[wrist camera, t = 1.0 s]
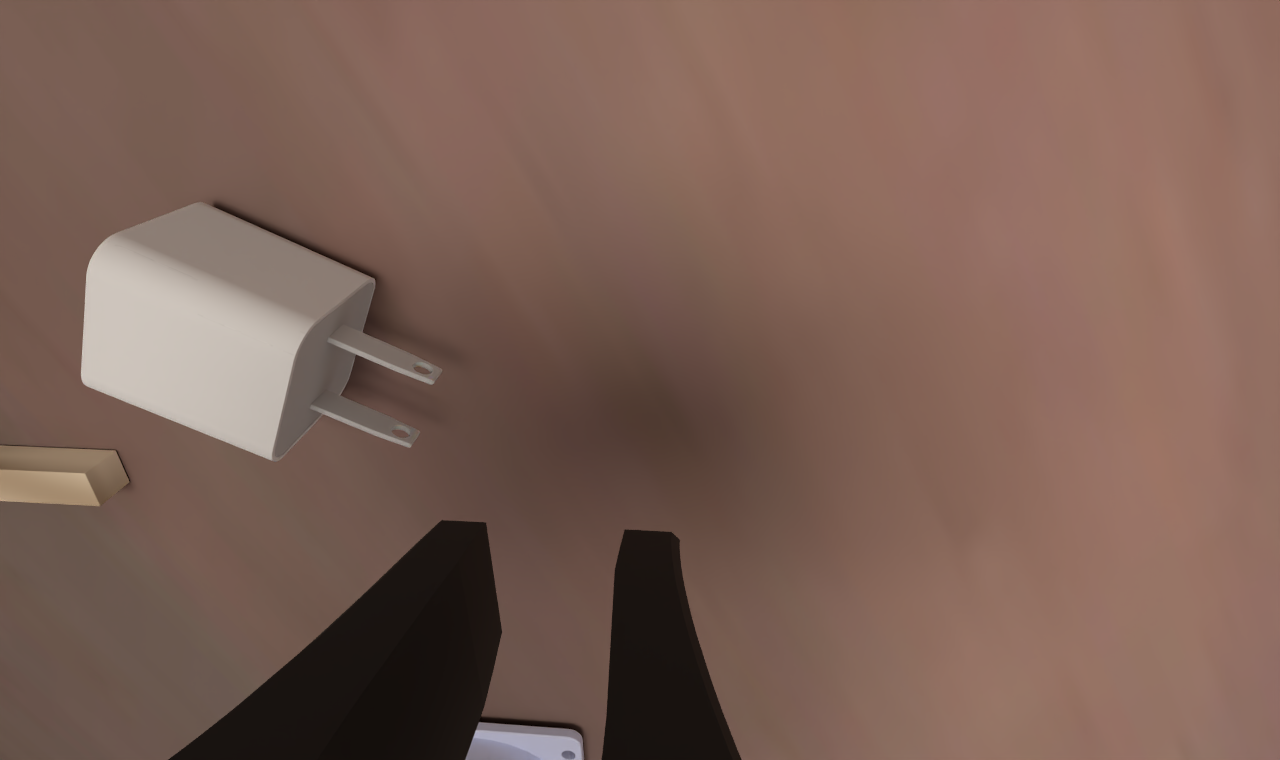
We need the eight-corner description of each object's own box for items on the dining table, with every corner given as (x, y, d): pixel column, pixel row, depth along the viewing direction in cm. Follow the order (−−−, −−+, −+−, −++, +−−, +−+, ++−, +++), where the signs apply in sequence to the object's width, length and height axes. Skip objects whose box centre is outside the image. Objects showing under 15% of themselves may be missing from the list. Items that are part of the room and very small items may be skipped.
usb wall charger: (215, 195, 17) (88, 243, 14) (475, 312, 18) (418, 385, 15) (195, 327, 19) (79, 399, 16) (432, 426, 20) (373, 516, 16)
